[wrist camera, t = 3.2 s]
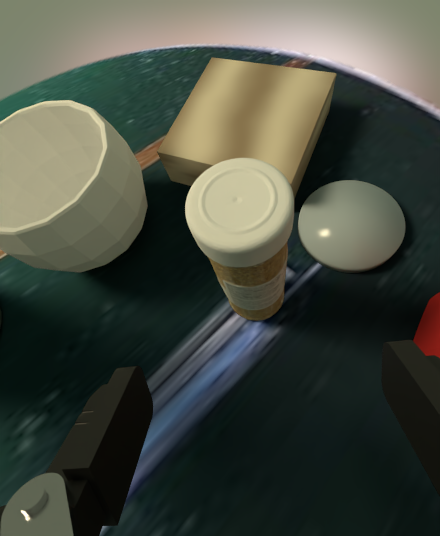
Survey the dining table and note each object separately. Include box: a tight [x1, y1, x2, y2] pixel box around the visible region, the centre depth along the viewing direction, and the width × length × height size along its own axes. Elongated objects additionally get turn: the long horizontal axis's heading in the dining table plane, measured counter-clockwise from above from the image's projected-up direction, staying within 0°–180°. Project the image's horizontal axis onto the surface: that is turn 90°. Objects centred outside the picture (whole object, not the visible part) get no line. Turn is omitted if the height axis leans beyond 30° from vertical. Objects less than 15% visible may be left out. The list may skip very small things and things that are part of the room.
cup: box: [0, 100, 148, 272], centre depth 25 cm, size 12×12×10 cm
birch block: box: [157, 58, 336, 198], centre depth 28 cm, size 12×12×4 cm
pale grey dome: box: [298, 180, 405, 273], centre depth 25 cm, size 8×8×1 cm
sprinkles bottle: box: [185, 158, 294, 321], centre depth 18 cm, size 5×5×14 cm
